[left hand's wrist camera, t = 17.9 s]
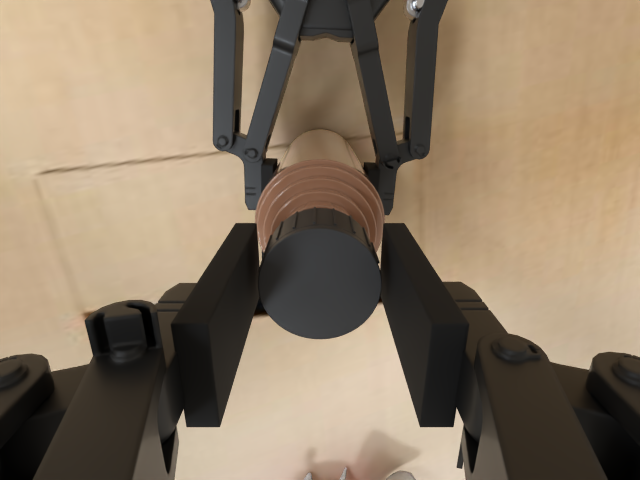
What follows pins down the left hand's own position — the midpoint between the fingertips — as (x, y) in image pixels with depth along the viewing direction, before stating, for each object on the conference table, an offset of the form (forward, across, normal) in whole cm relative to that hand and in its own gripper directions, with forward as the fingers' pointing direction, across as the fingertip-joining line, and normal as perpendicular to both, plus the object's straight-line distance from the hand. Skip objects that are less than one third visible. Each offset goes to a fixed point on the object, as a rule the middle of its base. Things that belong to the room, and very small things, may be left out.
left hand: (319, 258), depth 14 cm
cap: (-2, 0, 0) cm, 2 cm away
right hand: (+13, 0, -5) cm, 14 cm away
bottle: (+19, 0, 0) cm, 19 cm away
